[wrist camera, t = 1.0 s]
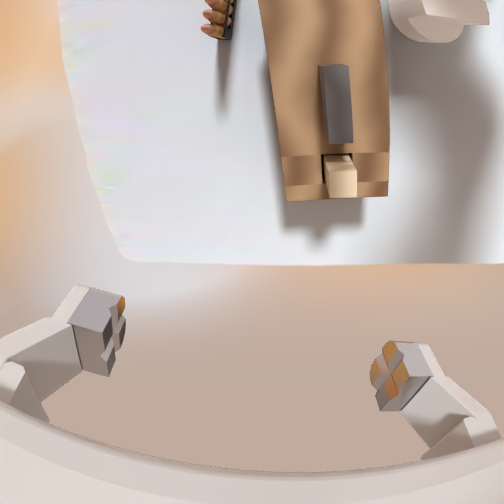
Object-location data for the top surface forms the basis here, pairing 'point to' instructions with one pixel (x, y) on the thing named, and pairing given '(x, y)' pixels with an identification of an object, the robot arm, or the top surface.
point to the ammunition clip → (219, 18)
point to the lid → (328, 91)
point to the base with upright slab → (436, 18)
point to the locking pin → (339, 175)
